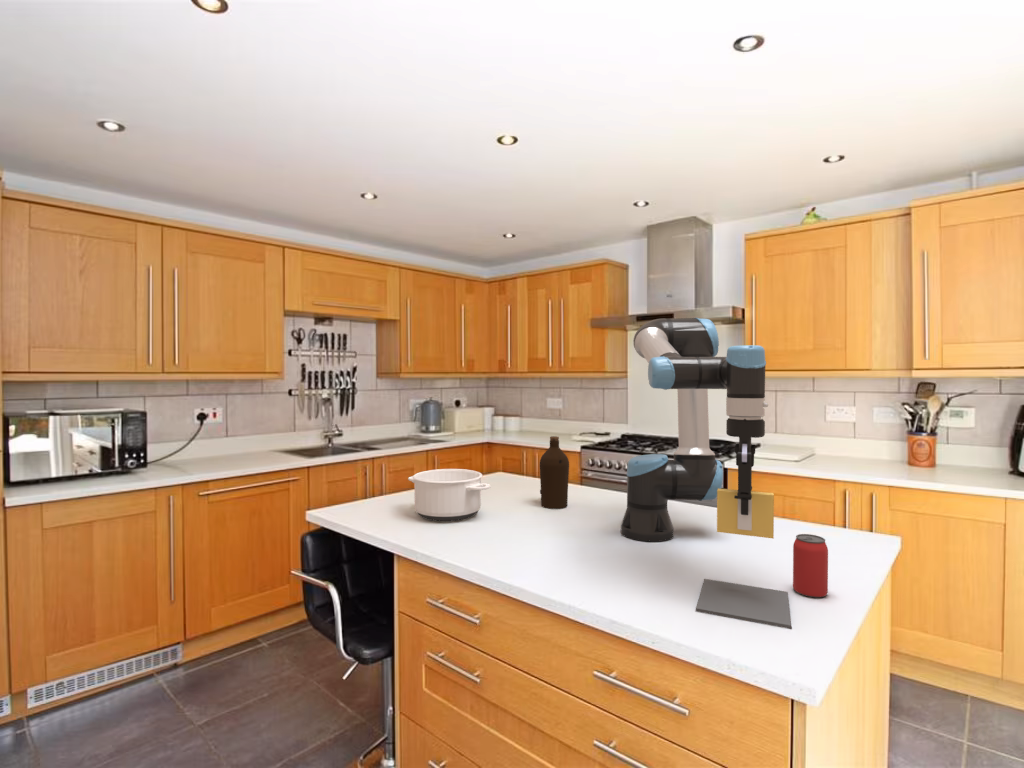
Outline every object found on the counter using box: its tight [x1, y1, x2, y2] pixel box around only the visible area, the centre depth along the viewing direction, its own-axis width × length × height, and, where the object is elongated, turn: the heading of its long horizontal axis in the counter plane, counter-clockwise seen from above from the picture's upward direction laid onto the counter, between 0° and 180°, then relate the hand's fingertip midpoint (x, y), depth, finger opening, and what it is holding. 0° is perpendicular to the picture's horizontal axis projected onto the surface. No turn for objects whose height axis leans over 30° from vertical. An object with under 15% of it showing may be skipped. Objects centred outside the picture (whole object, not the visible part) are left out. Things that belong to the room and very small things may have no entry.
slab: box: [716, 488, 775, 539], centre depth 113 cm, size 11×2×9 cm, turn 65°
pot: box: [407, 468, 491, 523], centre depth 178 cm, size 33×23×14 cm
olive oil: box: [539, 435, 570, 510], centre depth 191 cm, size 11×11×25 cm
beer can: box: [792, 533, 829, 599], centre depth 115 cm, size 7×7×12 cm
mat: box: [695, 578, 793, 630], centre depth 110 cm, size 17×17×1 cm
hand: (744, 527), depth 113 cm, fingers closed on slab, 2 cm apart
